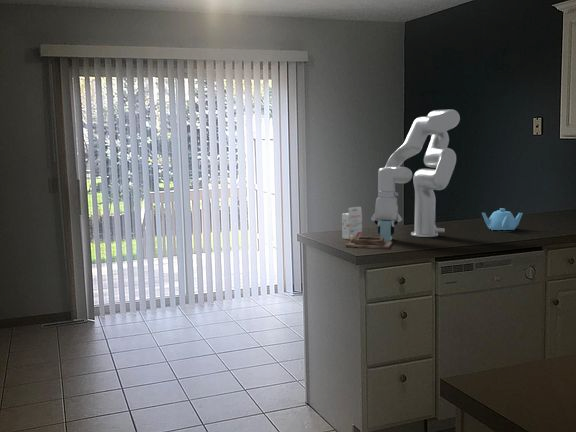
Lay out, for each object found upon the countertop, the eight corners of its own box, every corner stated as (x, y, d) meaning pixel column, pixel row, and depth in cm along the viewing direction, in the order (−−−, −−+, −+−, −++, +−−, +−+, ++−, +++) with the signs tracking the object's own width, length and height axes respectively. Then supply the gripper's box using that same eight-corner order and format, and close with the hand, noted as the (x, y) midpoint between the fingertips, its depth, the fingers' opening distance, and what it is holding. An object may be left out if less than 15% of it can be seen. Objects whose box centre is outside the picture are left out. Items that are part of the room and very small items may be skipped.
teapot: (524, 229, 319) (525, 208, 317) (507, 233, 309) (508, 210, 308) (497, 226, 330) (497, 206, 329) (480, 229, 321) (480, 208, 320)
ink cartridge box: (355, 236, 301) (355, 205, 299) (362, 237, 297) (362, 206, 295) (341, 238, 296) (341, 206, 294) (348, 239, 292) (348, 207, 290)
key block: (392, 238, 293) (392, 219, 292) (390, 241, 286) (390, 221, 285) (382, 238, 295) (382, 219, 293) (380, 240, 287) (380, 221, 286)
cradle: (392, 243, 281) (392, 234, 280) (388, 248, 267) (388, 239, 267) (351, 241, 286) (351, 233, 285) (345, 247, 272) (345, 237, 272)
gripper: (406, 194, 289) (405, 234, 291) (369, 194, 294) (369, 233, 296) (404, 196, 282) (404, 236, 284) (366, 195, 286) (366, 235, 289)
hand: (386, 234), depth 290 cm, fingers closed on key block, 4 cm apart
